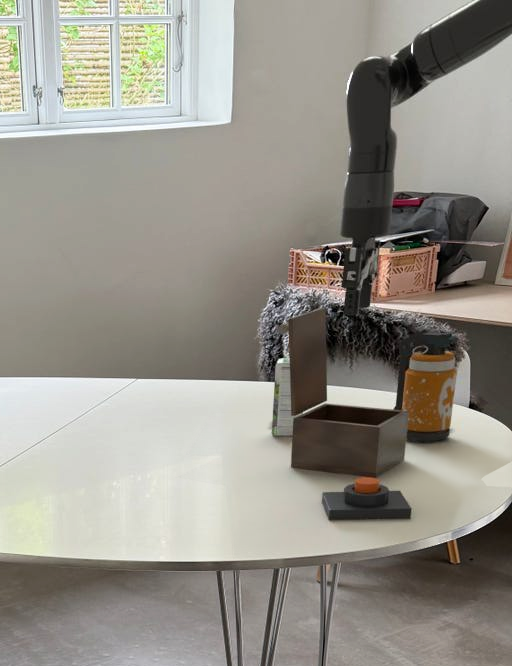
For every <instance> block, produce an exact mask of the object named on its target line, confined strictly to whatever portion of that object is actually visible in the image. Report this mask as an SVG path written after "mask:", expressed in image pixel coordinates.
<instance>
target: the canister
mask: <svg viewBox="0 0 512 666" xmlns="http://www.w3.org/2000/svg"><path fill="white" fill-rule="evenodd" d="M458 339H459V337H458V336H456V335H453V332H449V331H448V332H447V331H446V332H433V331H432V332H430V331H428V330H426V329H422V330H418V331H416V332H415V333H413V334H411V335H409V336H408V337H406V338H404V339H403V340H401V341H399V342H398V343H397V345H398V346H397V347H398V351H399V355H400V357H399V362H398V378H397V385H396V387H397V388H396V397H395V406H394V407H393V409H392V410H403V411H409V418H408V427H407V437H406V440H407V441H410V442H415V443H434V442H440V441H441V440H443V439H444V440H445V439H447V438H449V436H450V433H451V425H452V414H453V407H454V401H455V400H454V399H455V390H456V384H457V374H458V371H457V370H456V369H455V364H456V357H455V354H454V353H453V352H451V351H448V350H446V349H445V348H448V347H450V346H451V344H453V343H456V342H458ZM413 343H414V345H411V344H413Z"/></svg>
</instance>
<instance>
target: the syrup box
mask: <svg viewBox="0 0 512 666" xmlns="http://www.w3.org/2000/svg"><path fill="white" fill-rule="evenodd" d="M274 370H275V371H274V384H273V385H274V387H273V402H272V403H273V405H272V421H271V423H272V424H271V436H272V437H276V436H277V437H281V436H282V437H292V435H293V418H295V417H297V416H300V415H302V414H304V412H302V413H300V414H298V415H296V416H291V389H290V357H284V358H278V359H277V361H276V364H275V369H274Z"/></svg>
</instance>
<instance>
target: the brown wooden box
mask: <svg viewBox="0 0 512 666" xmlns="http://www.w3.org/2000/svg"><path fill="white" fill-rule="evenodd" d="M408 418H409V411H403V410H393V409H392V408H382V407H381V408H380V407H371V406H370V407H369V406H360V405H359V406H357V405H348V404H347V405H346V404H338V403H337V404H336V403H326V402H324V403H322V404H320V405H318V406H315V407H313V408H311V409H309V410H307V411H305V412H303V414H302V415H300V416H297V417H295V418H293V435H292V436H291V437H292V438H291V455H290V457H291V458H290V467H291V468H294V469H295V468H296V469H303V470H309V471H317V472H323V473H324V472H325V473H331V474H332V473H333V474H339V475H340V474H341V475H348V476H356V477H361V478H362V477H371V478H376V479H378V477H380V476H382V475H383V474H384V473H386V472H388V471H389V470H391V469H393V468H394V467H396V466H397V465H399V464H400V463H402V462H404V461H405V456H406V445H407V439H406V437H407V427H408Z"/></svg>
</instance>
